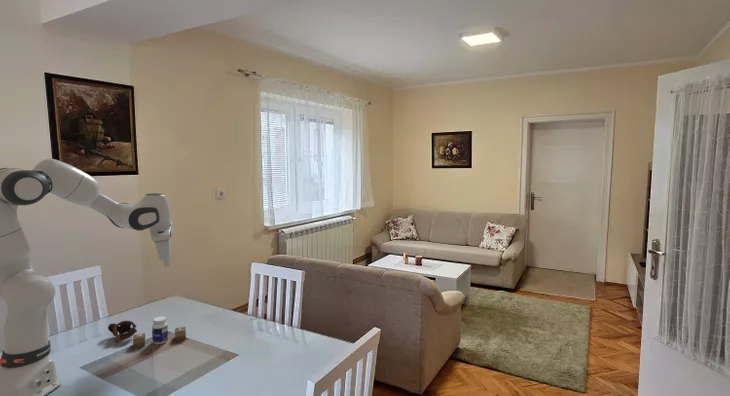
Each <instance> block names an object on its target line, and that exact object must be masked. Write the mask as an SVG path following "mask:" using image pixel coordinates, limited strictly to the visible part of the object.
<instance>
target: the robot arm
mask: <svg viewBox="0 0 730 396" xmlns="http://www.w3.org/2000/svg"><path fill="white" fill-rule="evenodd" d="M100 187H101V185H100V183H99V181H97V180H96V179H95V178H94V177H93V176H91V175H89V174H88V173H86V172H84V171H83V170H81V169H79V168H77V167H75V166H73V165H71V164H69V163H66V162H64V161H61V160H58V159H54V158H46V159H43V160H41V161H40V162H38V163H37V164H36V165H35V166H34V168H32V169H31V170H30V169H29V170H28V169H22V168H19V167H3V168H0V300H1V301H3V302H4V303H5V306H6V309H7V310H6V317H5V322H4V324H3V326H2V329H1V331H2V339H3V340H2V342H3V350H2V352H1V356H0V396H44V395H46V394H47V393H49V392H50V391H52V390H53V389H55V388H56V387H58V386H60V385H61V386H62V382H61V380H59V379H58V374H57V369H56V364H55V361H54V359H53V358H52V356H51V352H52V345H51V341H50V339H49V328H48V327H49V325H48V318H49V312H50V305H51V303H52V302H53V301H54V298H55V297H56V288H55V285H54V284H53V283H52V281H51V280H50V279H49V278H48V277H46V276H44V275H42V274H39V273H37V271H35V269H34V267H33V263H32V261H31V260H32V259H31V250H32V249H31V247H30V245H29V242H28V240H27V237H26V234H25V232H24V230H23V228H22V226H21V223H20V221H19V218H18V214H17V213H18V211H17V210H18V207H19V206H31V205H33V204H36V203H38V202H39V201H41V200H42V199H43V198H45V197H46V195H48V194H53V195H55V197H58V198H61V199H63V200H64V201H67V202H70V203H72V204H74V205H75V204H76V205H79V206H82V207H83V206H85V207H89V208H91V209H93V210H95V211H96V212H99V213H100V214H103V215H104V216H105V217H106V218H107V219H109V221H110V222H111V224H112V225H114V226H115V227H117V228H121V229H127V230H132V231H145V230H147V229H149V236H150V238H151V239H152V242H153V243H154V244H155V245H154V246H155V250H156V252H157V253H156V254H157V255H158V258H159V260H160V261H161V260H162V262H163V265H164V267H165V268H166V267H170V262H169V261H170V258H171V239H172V236H173V235H174V234H175V229H174V223H173V220H172V218H171V207H170V203H169V199H168V197H167V196H166V195H165V194H164V193H159V192H158V193H157V192H153V193H151V192H150V193H146V194H145V195H144V197H143V198H142V199H141V200H139V201H138V202H137V203H135V204H131V203H126V202H117V201H115V200H113V199H111V198H110V197H108V196H106V195H105V194H103V193H101V192H100V190H101V189H100ZM61 386H60V387H61ZM58 388H59V387H58ZM55 390H56V389H55ZM52 392H53V391H52ZM49 394H50V393H49ZM46 396H47V395H46Z"/></svg>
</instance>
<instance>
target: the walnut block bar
mask: <svg viewBox="0 0 730 396" xmlns="http://www.w3.org/2000/svg"><path fill="white" fill-rule="evenodd" d="M186 331H187V330H186V326H181V327H175V328H174V339H175V340H174V342H178V341H185V340H186V339H187V338H186V337H187V332H186Z"/></svg>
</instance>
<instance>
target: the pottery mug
mask: <svg viewBox="0 0 730 396" xmlns="http://www.w3.org/2000/svg"><path fill="white" fill-rule="evenodd" d="M131 326H132V327H131ZM136 328H137V325H136V324H135V323H134V322H133V321H132V320H122V321H119V322H118V323H110V324H108V326H107V329H108V332H110V333H111V334H112V336H113V337H115V338H114V339H115V340H114V341H115V343H118V344H119V343H120V342H122V341H124V340H128V339H130V338H131V337H133V336H134V335H135V334H136V333H138V331H137V329H136Z"/></svg>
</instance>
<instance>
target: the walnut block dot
mask: <svg viewBox="0 0 730 396" xmlns="http://www.w3.org/2000/svg"><path fill="white" fill-rule="evenodd" d="M144 347H146V333H145V332H144V333H135V334H133V336H132V348H133V349H138V348H144Z"/></svg>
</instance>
